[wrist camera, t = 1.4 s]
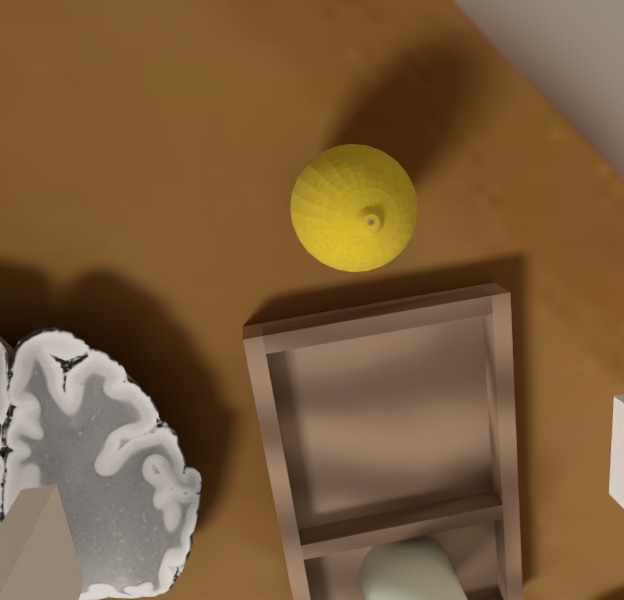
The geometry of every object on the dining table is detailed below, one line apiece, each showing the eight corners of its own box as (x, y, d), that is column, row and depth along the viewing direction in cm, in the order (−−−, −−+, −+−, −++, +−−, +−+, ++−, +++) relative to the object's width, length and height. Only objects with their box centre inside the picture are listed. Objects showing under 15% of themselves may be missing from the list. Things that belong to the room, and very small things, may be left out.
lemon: (394, 141, 30) (447, 149, 22) (388, 249, 31) (435, 291, 24) (284, 139, 29) (299, 147, 21) (284, 250, 31) (298, 294, 23)
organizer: (242, 326, 31) (242, 339, 30) (494, 282, 32) (510, 292, 31) (303, 640, 38) (306, 667, 36) (510, 596, 39) (523, 620, 37)
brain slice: (223, 326, 32) (221, 346, 29) (188, 584, 36) (183, 623, 34) (-182, 277, 29) (-228, 295, 26) (-163, 566, 33) (-201, 607, 30)
